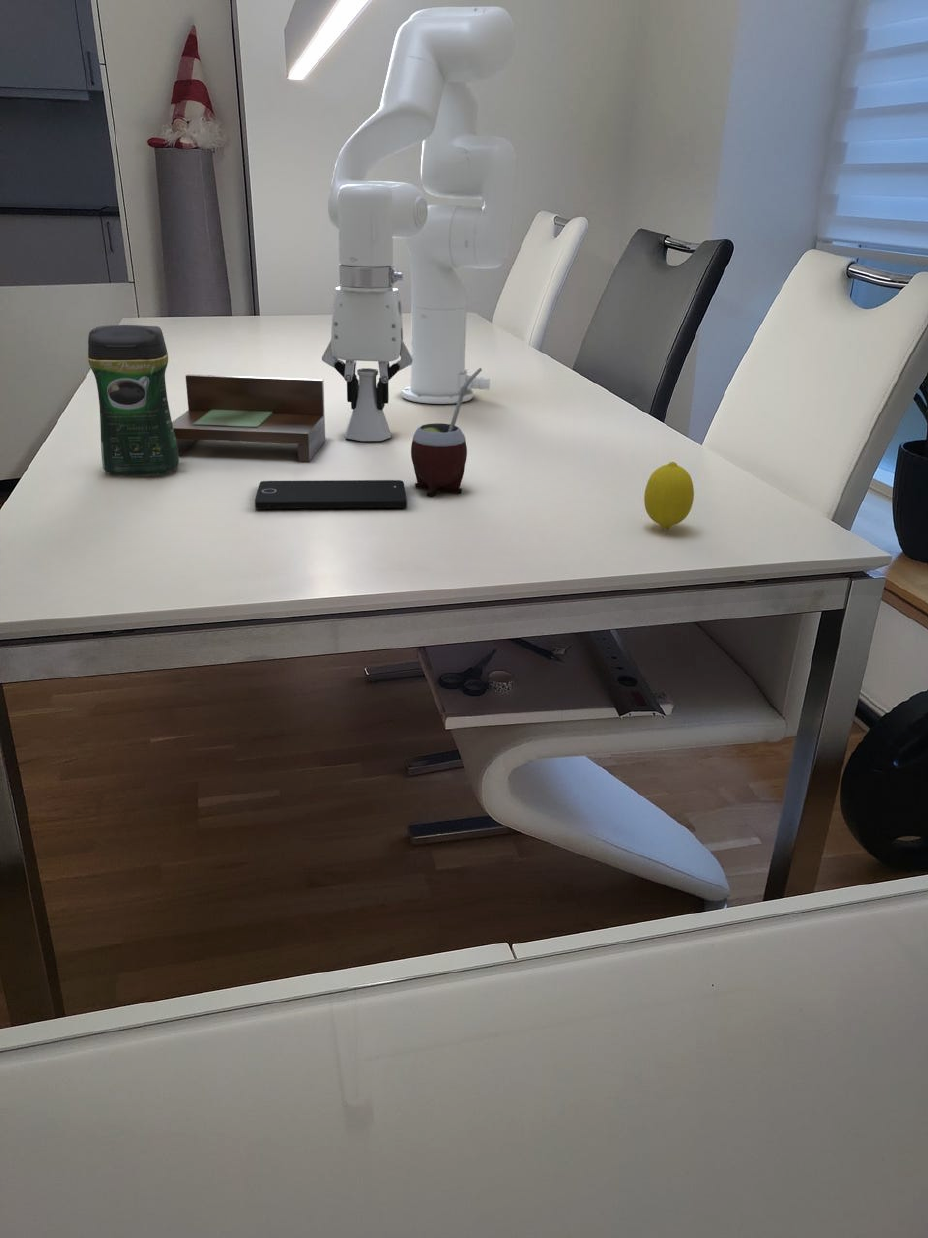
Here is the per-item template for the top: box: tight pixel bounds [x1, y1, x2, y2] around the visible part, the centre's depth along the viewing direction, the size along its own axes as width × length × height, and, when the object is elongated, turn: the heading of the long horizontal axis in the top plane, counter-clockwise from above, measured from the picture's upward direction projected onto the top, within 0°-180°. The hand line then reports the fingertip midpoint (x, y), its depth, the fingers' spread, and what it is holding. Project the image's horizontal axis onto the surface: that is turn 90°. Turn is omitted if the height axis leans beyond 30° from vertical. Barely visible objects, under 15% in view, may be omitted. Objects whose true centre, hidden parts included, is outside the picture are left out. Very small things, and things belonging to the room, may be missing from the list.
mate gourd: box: [410, 367, 483, 498], centre depth 126 cm, size 8×8×15 cm
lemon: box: [643, 461, 695, 530], centre depth 115 cm, size 6×6×8 cm
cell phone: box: [254, 479, 408, 510], centre depth 123 cm, size 9×18×1 cm, turn 96°
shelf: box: [172, 374, 326, 463], centre depth 143 cm, size 20×12×9 cm, turn 87°
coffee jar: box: [87, 324, 180, 477], centre depth 129 cm, size 10×8×19 cm
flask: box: [345, 367, 392, 442], centre depth 150 cm, size 7×7×10 cm
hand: (368, 406), depth 150 cm, fingers closed on flask, 3 cm apart
